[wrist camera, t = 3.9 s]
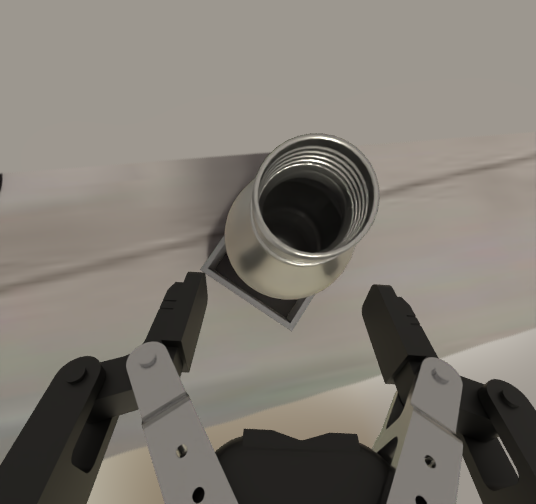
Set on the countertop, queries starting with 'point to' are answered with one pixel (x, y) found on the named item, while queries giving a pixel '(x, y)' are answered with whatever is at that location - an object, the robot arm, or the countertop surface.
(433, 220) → the countertop surface
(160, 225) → the countertop surface
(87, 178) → the countertop surface
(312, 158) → the silver metal bottle
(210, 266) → the socket collar
